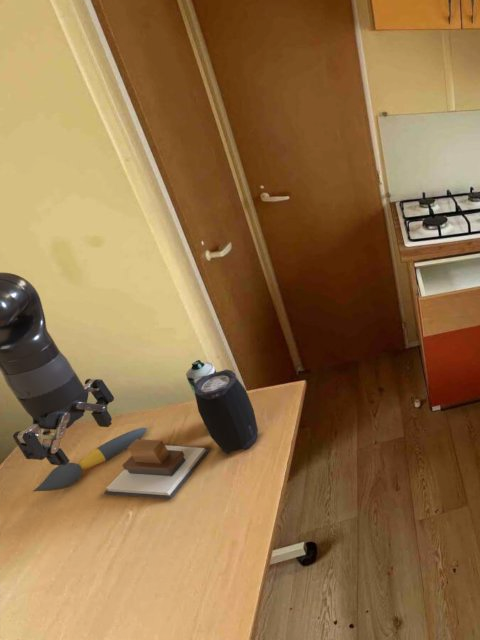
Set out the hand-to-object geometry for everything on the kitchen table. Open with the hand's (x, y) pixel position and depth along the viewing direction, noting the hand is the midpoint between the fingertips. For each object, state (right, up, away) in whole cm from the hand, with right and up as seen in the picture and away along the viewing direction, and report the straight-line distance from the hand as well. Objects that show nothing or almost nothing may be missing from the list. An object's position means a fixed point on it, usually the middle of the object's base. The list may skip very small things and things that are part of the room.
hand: (85, 443), depth 81 cm
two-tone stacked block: (+3, -11, +13) cm, 18 cm away
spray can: (+9, -6, +26) cm, 28 cm away
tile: (+3, -13, +14) cm, 19 cm away
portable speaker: (+16, -9, +21) cm, 28 cm away
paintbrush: (-13, -12, +16) cm, 24 cm away
